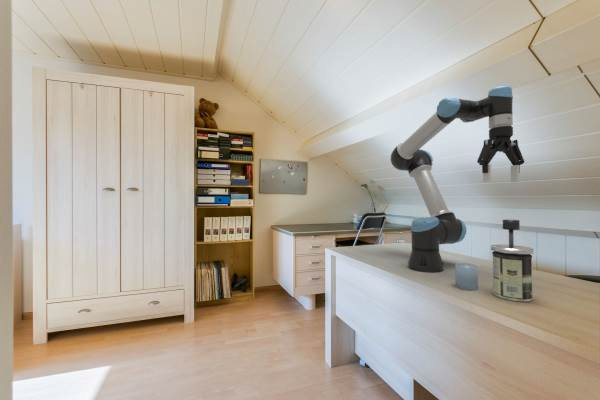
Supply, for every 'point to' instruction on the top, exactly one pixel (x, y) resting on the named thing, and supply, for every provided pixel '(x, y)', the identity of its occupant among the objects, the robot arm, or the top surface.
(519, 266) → the coffee can
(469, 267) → the frosted blue tumbler
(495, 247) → the plunger
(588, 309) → the top surface
